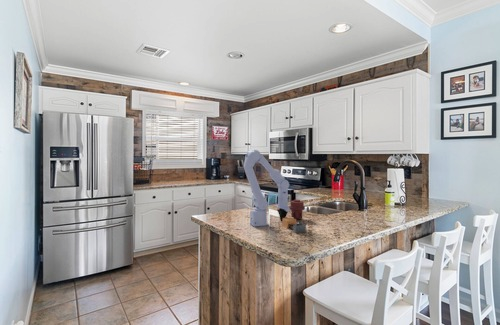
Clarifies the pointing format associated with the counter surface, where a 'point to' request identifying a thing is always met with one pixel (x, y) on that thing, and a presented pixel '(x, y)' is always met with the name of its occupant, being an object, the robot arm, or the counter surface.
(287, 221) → the notched orange block
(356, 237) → the counter surface
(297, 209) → the mechanical component
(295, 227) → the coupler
